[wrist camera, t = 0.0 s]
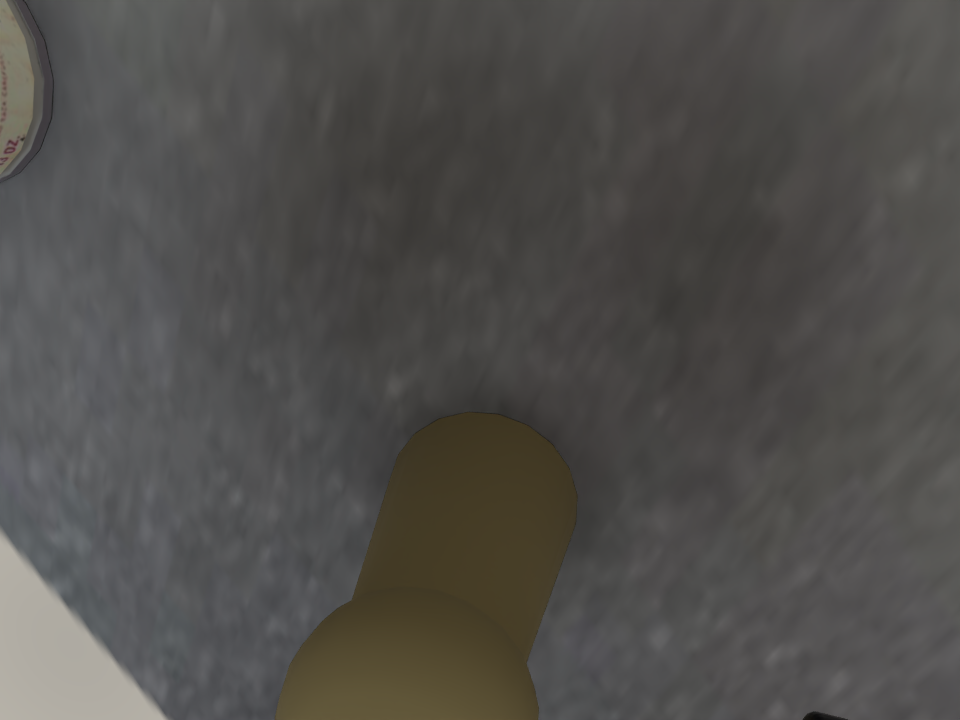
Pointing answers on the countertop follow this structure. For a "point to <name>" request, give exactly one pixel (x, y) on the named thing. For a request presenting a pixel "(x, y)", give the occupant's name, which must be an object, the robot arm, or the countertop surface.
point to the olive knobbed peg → (446, 583)
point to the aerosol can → (22, 88)
